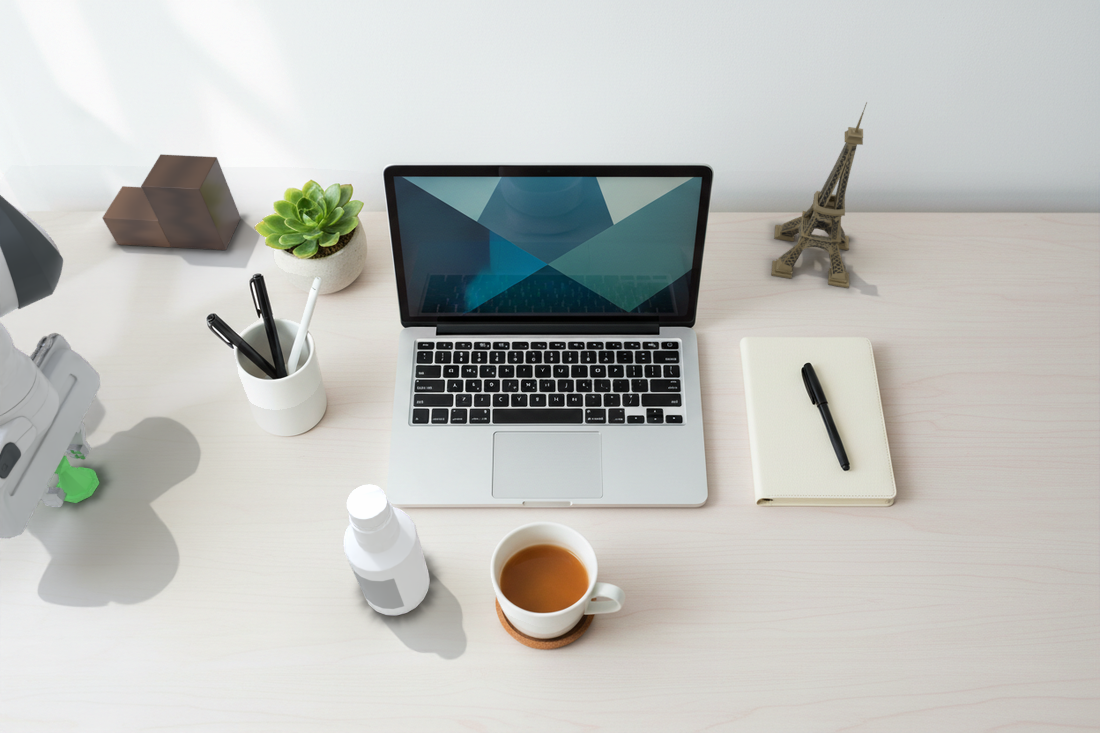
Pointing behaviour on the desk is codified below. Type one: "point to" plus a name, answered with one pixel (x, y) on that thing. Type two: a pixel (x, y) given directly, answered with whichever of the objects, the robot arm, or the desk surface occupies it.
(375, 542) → the white bottle
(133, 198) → the stepped wooden block
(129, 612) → the desk surface
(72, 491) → the game piece
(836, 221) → the eiffel tower
